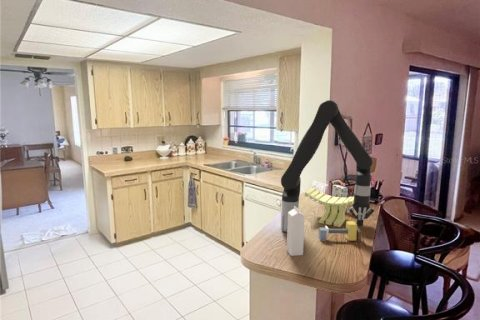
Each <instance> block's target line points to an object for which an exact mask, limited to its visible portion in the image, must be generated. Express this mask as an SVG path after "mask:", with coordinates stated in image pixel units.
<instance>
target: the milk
mask: <svg viewBox="0 0 480 320" xmlns="http://www.w3.org/2000/svg"><path fill="white" fill-rule="evenodd" d="M304 236H305V215H304V214H303V213H302V212H301V211H299V209H298V208H296V207H295V206H294V209H292V210H291V211H289V212H288V225H287V232H286V238H287V239H286V251H287V253H288V254H289V255H290V256H291V257H292V256H293V257H294V256H304V238H305V237H304Z"/></svg>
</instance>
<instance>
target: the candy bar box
mask: <svg viewBox="0 0 480 320" xmlns="http://www.w3.org/2000/svg"><path fill="white" fill-rule="evenodd" d="M331 188H332V189H331V191H332V192H331V196H332V197H333V196H334V197H340V198H341V197H347V198H348V197H349V196H348V195H349V188H348V187H346V186H342V185H341V184H332V187H331ZM347 211H348V206H347V207H346V209H345V213H348V212H347Z"/></svg>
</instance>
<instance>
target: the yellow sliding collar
mask: <svg viewBox="0 0 480 320" xmlns="http://www.w3.org/2000/svg"><path fill="white" fill-rule="evenodd" d="M357 227H358V225H357V222H355V220H353V221H352V220H350V221H349V220H345V229H348V234H345V238H346V240H347V241H348V242H349V241H352V242H353V241H354V242H355V241H356V242H357V240H356V235H357Z"/></svg>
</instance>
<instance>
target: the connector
mask: <svg viewBox="0 0 480 320" xmlns="http://www.w3.org/2000/svg"><path fill="white" fill-rule="evenodd" d="M326 234H327V230H326V229H325V227H318V239H319V241H322V242H326V241H327V236H326Z"/></svg>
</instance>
